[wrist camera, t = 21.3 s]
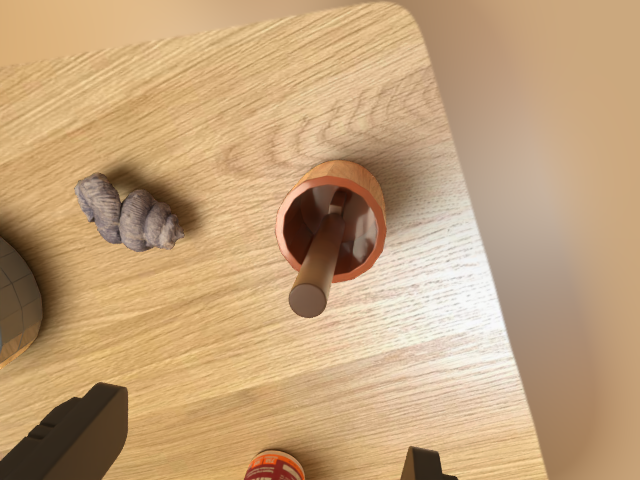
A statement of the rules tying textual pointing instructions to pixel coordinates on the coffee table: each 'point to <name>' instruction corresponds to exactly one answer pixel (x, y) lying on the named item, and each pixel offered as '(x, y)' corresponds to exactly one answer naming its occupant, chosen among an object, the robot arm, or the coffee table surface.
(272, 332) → the coffee table surface
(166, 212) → the seashell
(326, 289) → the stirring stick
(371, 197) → the crock
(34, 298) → the bowl
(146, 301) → the coffee table surface
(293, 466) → the pill bottle
